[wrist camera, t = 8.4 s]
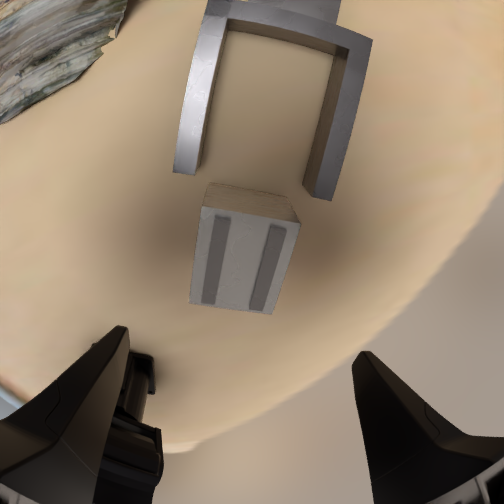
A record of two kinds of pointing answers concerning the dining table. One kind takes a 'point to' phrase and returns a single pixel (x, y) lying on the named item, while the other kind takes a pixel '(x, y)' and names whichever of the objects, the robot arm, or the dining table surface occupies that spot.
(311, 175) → the bracket
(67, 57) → the rock
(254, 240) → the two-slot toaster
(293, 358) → the dining table surface
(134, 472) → the robot arm
